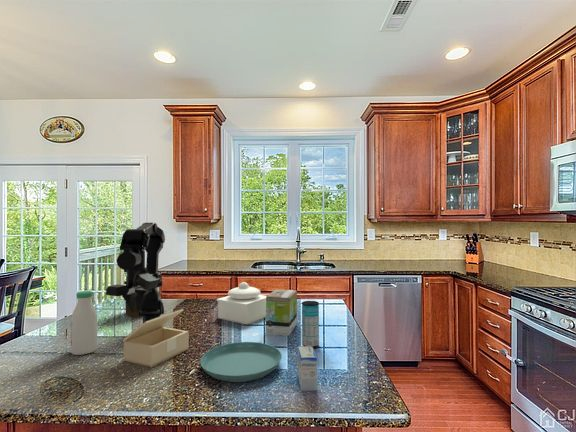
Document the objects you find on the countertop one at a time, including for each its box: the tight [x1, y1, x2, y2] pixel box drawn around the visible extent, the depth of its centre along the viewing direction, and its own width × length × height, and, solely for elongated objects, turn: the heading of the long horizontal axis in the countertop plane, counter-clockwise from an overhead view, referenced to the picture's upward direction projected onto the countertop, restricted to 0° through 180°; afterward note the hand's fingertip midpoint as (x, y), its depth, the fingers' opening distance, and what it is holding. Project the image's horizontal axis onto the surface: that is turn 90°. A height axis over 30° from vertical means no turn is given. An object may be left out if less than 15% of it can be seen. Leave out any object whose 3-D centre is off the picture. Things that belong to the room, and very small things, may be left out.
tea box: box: [264, 288, 298, 336], centre depth 136 cm, size 15×10×15 cm, turn 168°
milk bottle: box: [70, 290, 98, 356], centre depth 114 cm, size 8×8×20 cm
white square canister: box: [216, 281, 267, 325], centre depth 154 cm, size 18×18×16 cm
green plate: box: [200, 341, 283, 383], centre depth 101 cm, size 24×24×3 cm
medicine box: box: [296, 346, 318, 392], centre depth 90 cm, size 8×4×9 cm, turn 5°
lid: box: [122, 308, 184, 342], centre depth 111 cm, size 12×16×1 cm
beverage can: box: [301, 300, 320, 349], centre depth 118 cm, size 6×6×15 cm
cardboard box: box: [123, 326, 190, 368], centre depth 110 cm, size 12×16×6 cm
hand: (135, 311), depth 115 cm, fingers open, 2 cm apart
